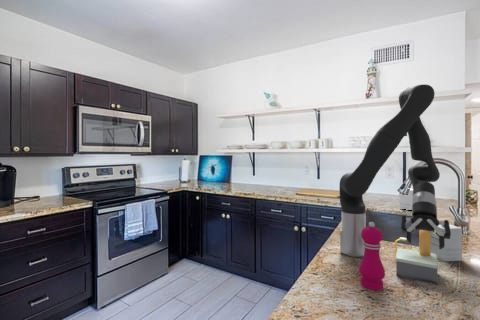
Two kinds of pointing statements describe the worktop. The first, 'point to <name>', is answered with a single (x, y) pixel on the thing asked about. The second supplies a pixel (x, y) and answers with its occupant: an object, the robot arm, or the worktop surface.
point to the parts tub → (416, 272)
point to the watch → (402, 240)
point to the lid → (419, 252)
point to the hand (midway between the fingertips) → (425, 245)
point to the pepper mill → (371, 258)
